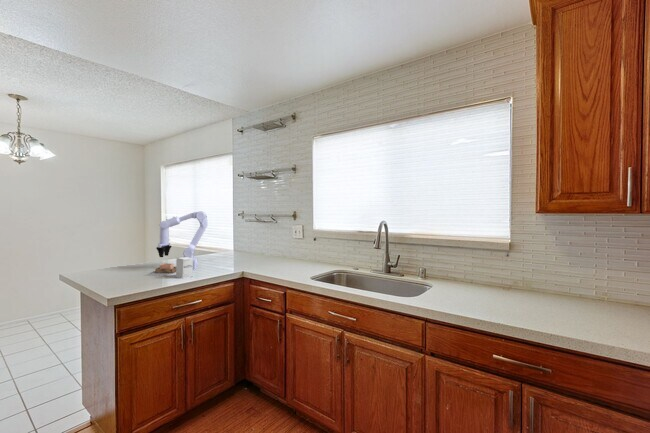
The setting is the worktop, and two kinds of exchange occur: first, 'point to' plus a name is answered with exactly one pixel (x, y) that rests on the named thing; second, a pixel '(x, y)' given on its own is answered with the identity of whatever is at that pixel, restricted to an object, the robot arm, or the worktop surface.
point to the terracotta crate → (166, 266)
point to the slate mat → (156, 274)
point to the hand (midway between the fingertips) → (163, 256)
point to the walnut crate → (165, 270)
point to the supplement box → (184, 267)
